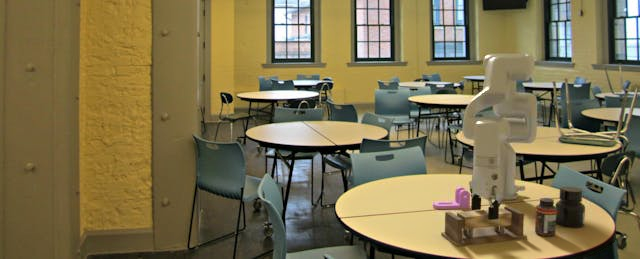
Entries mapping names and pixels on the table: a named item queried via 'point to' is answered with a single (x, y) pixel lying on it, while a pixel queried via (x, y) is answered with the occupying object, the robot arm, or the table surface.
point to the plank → (484, 219)
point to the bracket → (456, 201)
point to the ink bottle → (570, 207)
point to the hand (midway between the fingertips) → (484, 214)
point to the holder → (483, 230)
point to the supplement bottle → (545, 217)
